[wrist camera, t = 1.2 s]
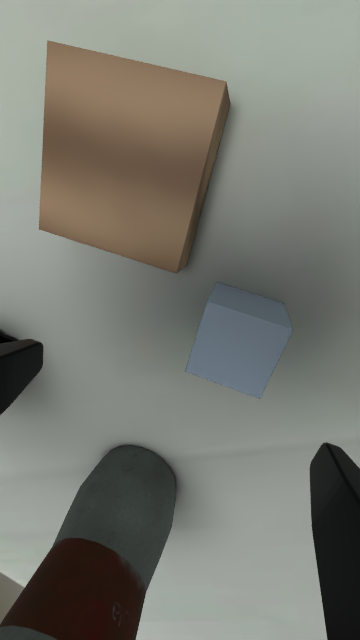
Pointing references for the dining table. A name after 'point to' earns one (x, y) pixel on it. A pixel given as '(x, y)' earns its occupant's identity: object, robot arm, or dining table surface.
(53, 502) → the dining table surface
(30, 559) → the dining table surface
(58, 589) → the grey bottle
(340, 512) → the robot arm
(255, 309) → the cube
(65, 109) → the base
